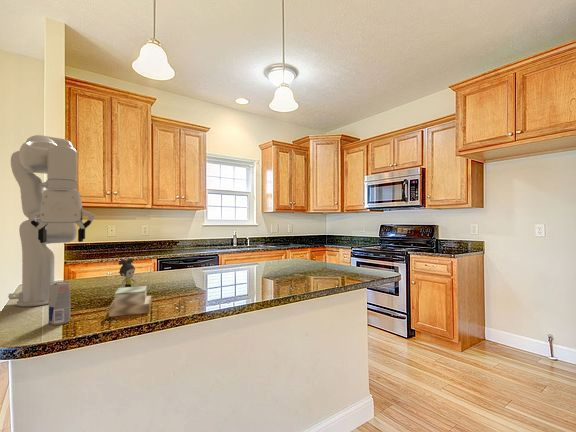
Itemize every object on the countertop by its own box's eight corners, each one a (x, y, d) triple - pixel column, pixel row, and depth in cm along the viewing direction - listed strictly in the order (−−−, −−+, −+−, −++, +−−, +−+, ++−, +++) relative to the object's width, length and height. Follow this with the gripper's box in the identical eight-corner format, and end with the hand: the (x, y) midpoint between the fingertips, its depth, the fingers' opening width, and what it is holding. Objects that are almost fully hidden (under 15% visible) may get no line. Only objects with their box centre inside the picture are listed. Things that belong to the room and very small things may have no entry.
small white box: (108, 316, 101) (108, 294, 101) (114, 306, 112) (114, 287, 112) (149, 312, 105) (149, 291, 105) (151, 303, 116) (151, 284, 116)
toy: (125, 298, 124) (125, 260, 124) (113, 297, 125) (113, 260, 125) (139, 293, 132) (139, 258, 132) (128, 292, 133) (128, 257, 134)
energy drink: (56, 319, 98) (56, 281, 98) (74, 319, 98) (74, 281, 98) (44, 325, 92) (44, 285, 93) (63, 325, 93) (63, 284, 93)
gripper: (22, 184, 90) (22, 243, 89) (92, 186, 96) (92, 242, 96) (32, 186, 97) (32, 242, 96) (97, 188, 103) (97, 240, 103)
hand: (62, 242), depth 96 cm, fingers open, 9 cm apart
